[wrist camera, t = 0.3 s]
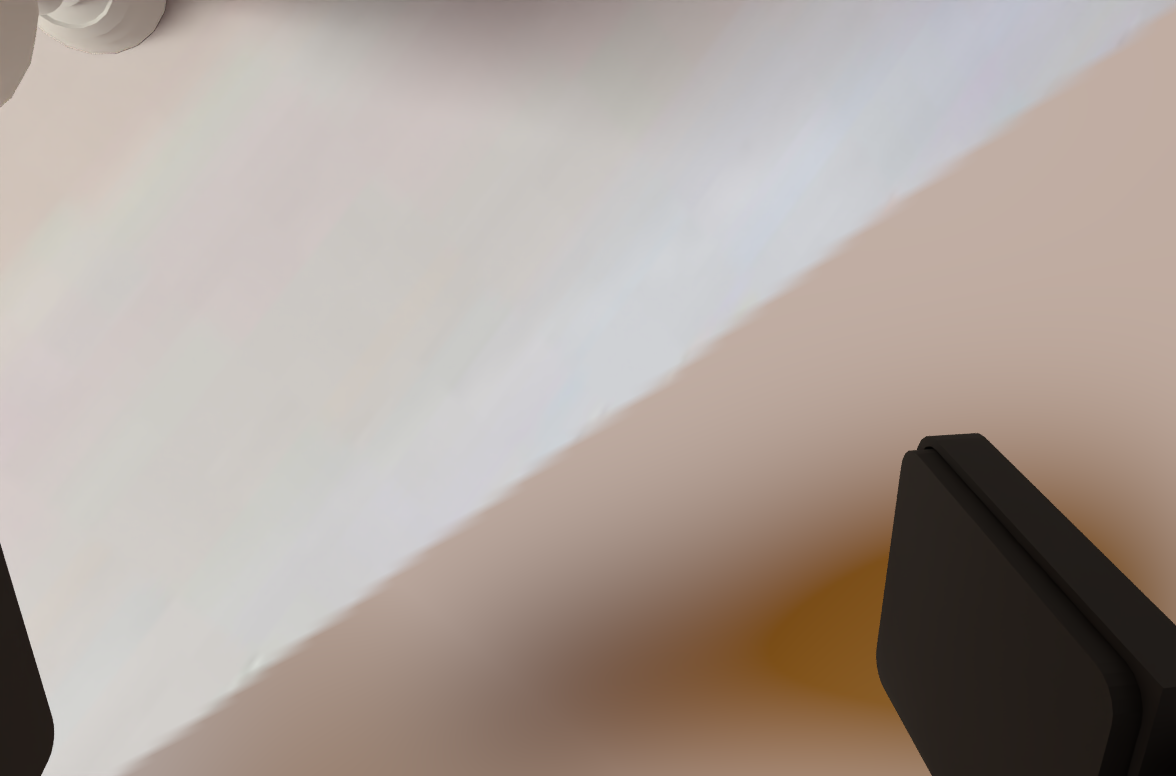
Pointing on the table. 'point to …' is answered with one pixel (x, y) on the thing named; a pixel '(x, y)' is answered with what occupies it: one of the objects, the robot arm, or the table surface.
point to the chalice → (70, 30)
